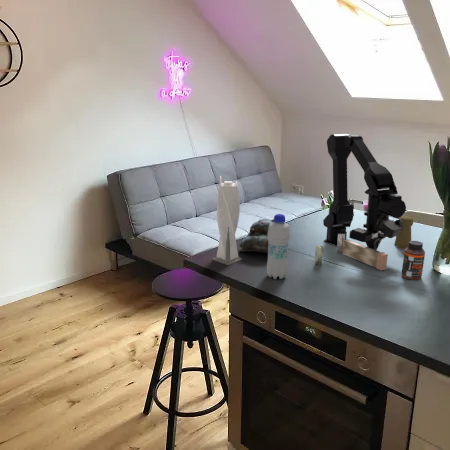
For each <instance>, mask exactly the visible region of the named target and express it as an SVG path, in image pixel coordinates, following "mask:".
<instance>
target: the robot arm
mask: <svg viewBox="0 0 450 450" xmlns="http://www.w3.org/2000/svg"><path fill="white" fill-rule="evenodd" d="M326 147H327V153H328V155H329V156H330V158H331V160H332V189H333V191H332V192H333V194H332V195H333V200H332V201H331V204H330V205H329V207H328V214H327V215H326V216H325V217H324V219H322V220H323V223H322V224H323V226H324V227H326V238H325V239H323V242H324V243H326V244H329V245H333V246H336V247H337V241H338V233H344V234H345V240H347V233H348V232H347V228H350V227H351V226H352V222H353V219H354V216H355V214H354V207H355V206H354V205H353V204H351V203H350V201H349V199H348V197H349V196H348V193H349V192H348V158H349V156H350V155H351V153H352V155H353V157H354V158H355V159H356V161H357V163H358V164H359V166H360V167H361V169H362V170H363V173H364V175H363V180H364V182H365V184H366V186H367V188H368V189H366V190H365V191H364V194H365V195H368V198H367V210H366V211H364V213H363V215H364V216H366V219H365V220H366V221H365V223H364V224H363V226H362V227H363V228H361V227H357V228H353V229H352V230H350V231H349V239H352V240H355V241H358V242H361V243H365V244H366V245H365V246H366V247H369V248H371V249H374V250H376V251H378V249H379V247H380V244H381V242H382V240H384V239H386V238H388V239H393V238H396V237H397V236H398V234H399V232H400V231H403V221H402V220H400V219H399V218H400V217H401V216H404V214H405V213H406V211H407V206H406V202H405V201H404V200H403V199H402V198H403V196H402V195H400V194H398V190H397V189H398V188H397V186H396V184H395V181H394V178H393V175H392V172H390V170H388V168H387V167H385V166H384V165H382V164H380V163H379V162H378V161H377V159H376V158H375V157H374V155H373V153H372V152H371V151H370V149H369V147H368V146H367V144H366V143H365V142H364V138H363V136H362V135H360V134H348V133H334V134H330V135H329V136H328V138H327V140H326ZM390 217H391V218H393V219H390ZM394 219H396V220H394Z"/></svg>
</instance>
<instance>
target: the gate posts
mask: <svg viewBox="0 0 450 450" xmlns="http://www.w3.org/2000/svg"><path fill="white" fill-rule="evenodd" d="M344 240H345V234H344V233H338V241H337V246H336V254H337V255H344V254H343V245H344ZM323 256H324V246H323V245H316V246H315V256H314V265H315V266H322V265H323Z"/></svg>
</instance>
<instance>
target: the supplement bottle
mask: <svg viewBox="0 0 450 450" xmlns="http://www.w3.org/2000/svg"><path fill="white" fill-rule="evenodd" d="M423 245H424V243H423V242H421V241H420V240H419V241H418V240H411V241H410V242H409V246H408V247H407V248H406V249H404V252H403V261H402V268H401V276H402V277H403V278H405V279H407V280H410V281H418V280H420V279H422V276H423V272H424V270H423V269H424V263H425V262H424V261H425V255H426V251H425V250H424V248H423V247H424V246H423Z"/></svg>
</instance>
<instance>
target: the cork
mask: <svg viewBox="0 0 450 450" xmlns="http://www.w3.org/2000/svg"><path fill="white" fill-rule="evenodd" d="M398 219H400V220H402V221H403V231H400V232H399V234H398V236H397V237H396V236H395V240H394V244H393V245H394V247H396V248H399V249H403V250H405V249H406V248H407V247H408V246H409V242H410V241H412V226H414V218H413V217H411V216H407V215H402V216H401V217H400V218H398Z"/></svg>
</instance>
